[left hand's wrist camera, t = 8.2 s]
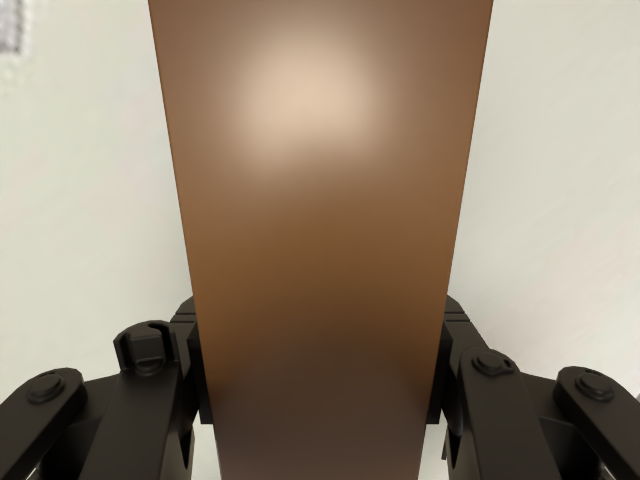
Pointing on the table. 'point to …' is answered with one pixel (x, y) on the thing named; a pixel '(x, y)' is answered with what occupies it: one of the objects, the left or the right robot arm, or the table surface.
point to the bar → (320, 217)
